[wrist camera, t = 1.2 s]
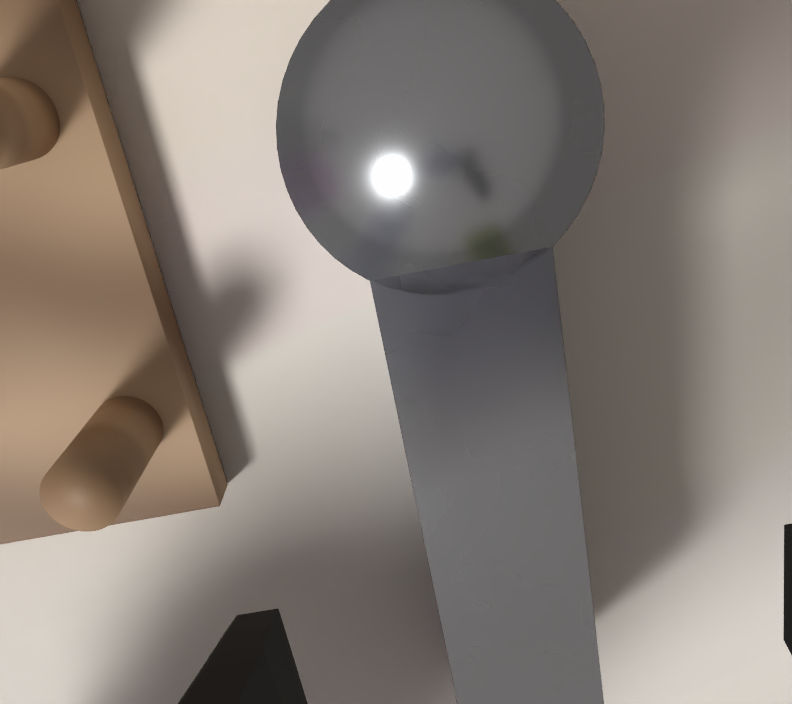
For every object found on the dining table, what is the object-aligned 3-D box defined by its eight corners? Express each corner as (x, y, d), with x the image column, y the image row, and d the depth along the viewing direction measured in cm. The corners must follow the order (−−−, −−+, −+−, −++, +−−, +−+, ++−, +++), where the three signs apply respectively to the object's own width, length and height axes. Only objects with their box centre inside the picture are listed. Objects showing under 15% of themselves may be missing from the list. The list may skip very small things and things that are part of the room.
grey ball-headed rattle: (600, 656, 22) (661, 821, 17) (430, 684, 22) (444, 852, 17) (524, -37, 15) (589, -81, 10) (281, 13, 15) (238, -8, 11)
